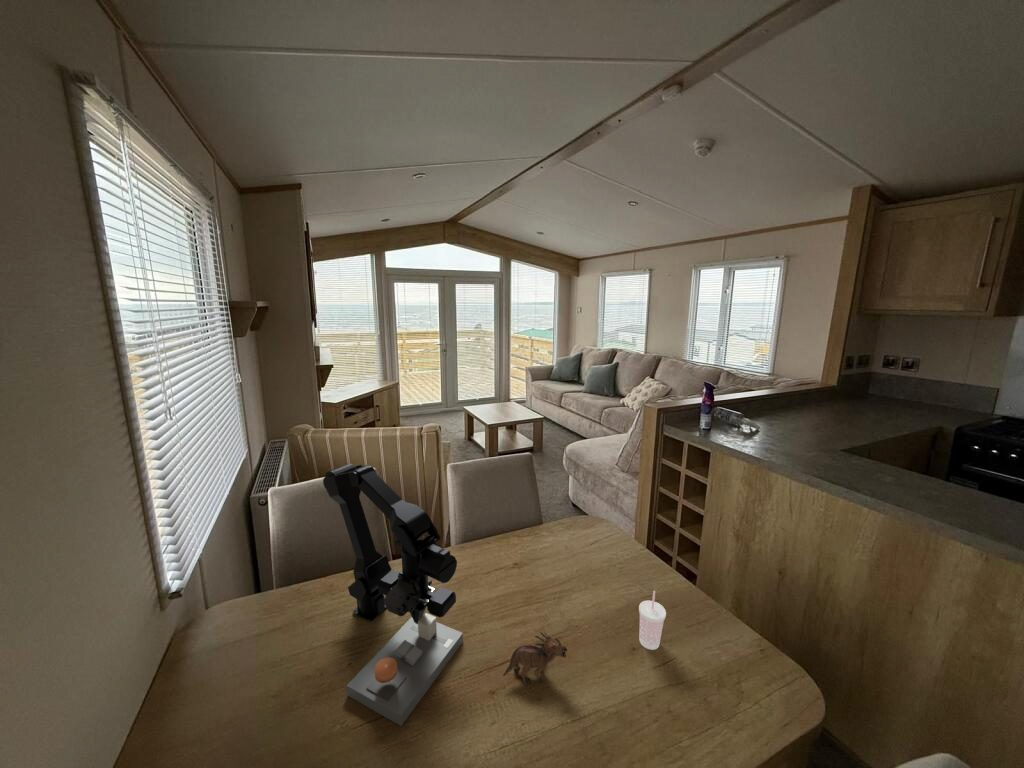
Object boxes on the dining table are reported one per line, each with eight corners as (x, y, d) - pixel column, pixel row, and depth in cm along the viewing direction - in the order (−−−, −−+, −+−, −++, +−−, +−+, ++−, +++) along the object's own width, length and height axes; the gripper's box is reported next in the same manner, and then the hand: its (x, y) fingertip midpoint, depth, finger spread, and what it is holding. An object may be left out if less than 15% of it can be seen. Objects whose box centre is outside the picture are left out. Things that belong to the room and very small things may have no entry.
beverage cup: (667, 641, 100) (672, 590, 97) (655, 657, 96) (661, 604, 93) (643, 627, 104) (647, 578, 101) (631, 642, 100) (635, 591, 97)
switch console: (347, 695, 86) (346, 684, 85) (415, 621, 105) (415, 612, 105) (401, 726, 80) (400, 714, 79) (462, 641, 99) (462, 631, 99)
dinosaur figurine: (558, 656, 96) (560, 622, 94) (566, 679, 90) (568, 643, 88) (499, 664, 93) (500, 629, 91) (503, 688, 88) (503, 652, 86)
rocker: (394, 654, 91) (395, 650, 91) (404, 643, 94) (404, 639, 94) (412, 666, 90) (413, 662, 89) (422, 654, 92) (422, 650, 92)
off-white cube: (418, 636, 98) (417, 621, 97) (426, 627, 100) (425, 612, 99) (428, 640, 96) (428, 626, 95) (436, 631, 99) (436, 617, 98)
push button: (370, 681, 84) (369, 671, 84) (385, 664, 88) (384, 654, 88) (387, 690, 83) (386, 679, 82) (401, 672, 86) (401, 662, 86)
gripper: (358, 573, 92) (362, 632, 96) (426, 600, 85) (429, 664, 88) (392, 546, 102) (395, 601, 106) (456, 568, 94) (457, 627, 98)
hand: (417, 622), depth 99 cm, fingers closed
